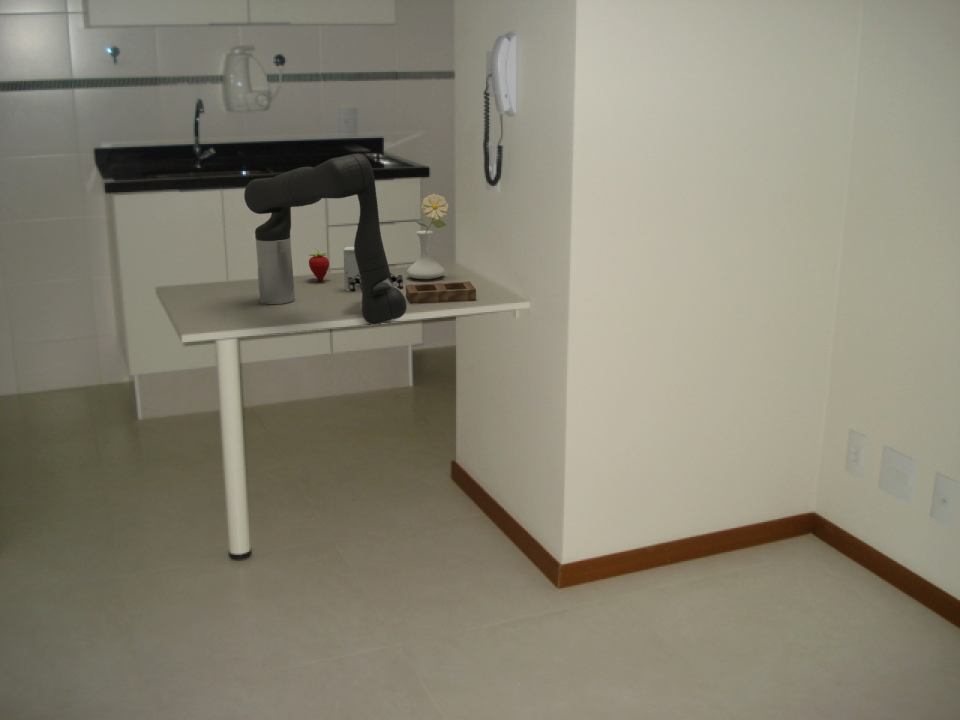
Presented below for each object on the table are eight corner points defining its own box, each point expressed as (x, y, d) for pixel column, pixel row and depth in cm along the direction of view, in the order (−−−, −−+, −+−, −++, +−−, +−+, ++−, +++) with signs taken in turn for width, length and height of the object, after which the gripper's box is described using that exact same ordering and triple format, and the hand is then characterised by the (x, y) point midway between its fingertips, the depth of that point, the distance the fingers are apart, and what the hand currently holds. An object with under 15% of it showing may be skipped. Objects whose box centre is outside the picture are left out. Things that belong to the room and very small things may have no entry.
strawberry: (313, 284, 292) (311, 250, 290) (307, 279, 299) (305, 246, 296) (333, 282, 295) (331, 249, 292) (326, 277, 301) (324, 244, 298)
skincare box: (344, 291, 283) (342, 249, 280) (347, 288, 288) (345, 246, 284) (366, 291, 283) (364, 249, 279) (368, 288, 287) (366, 246, 284)
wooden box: (409, 303, 269) (409, 293, 268) (406, 295, 278) (405, 284, 277) (476, 300, 272) (475, 289, 271) (470, 291, 281) (469, 281, 280)
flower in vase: (403, 281, 294) (400, 196, 287) (410, 273, 305) (407, 191, 298) (447, 282, 293) (445, 196, 286) (452, 274, 304) (450, 191, 297)
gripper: (406, 274, 253) (399, 262, 269) (349, 277, 251) (346, 264, 266) (407, 303, 255) (400, 289, 271) (350, 306, 253) (347, 292, 268)
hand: (373, 277), depth 268 cm, fingers open, 8 cm apart
